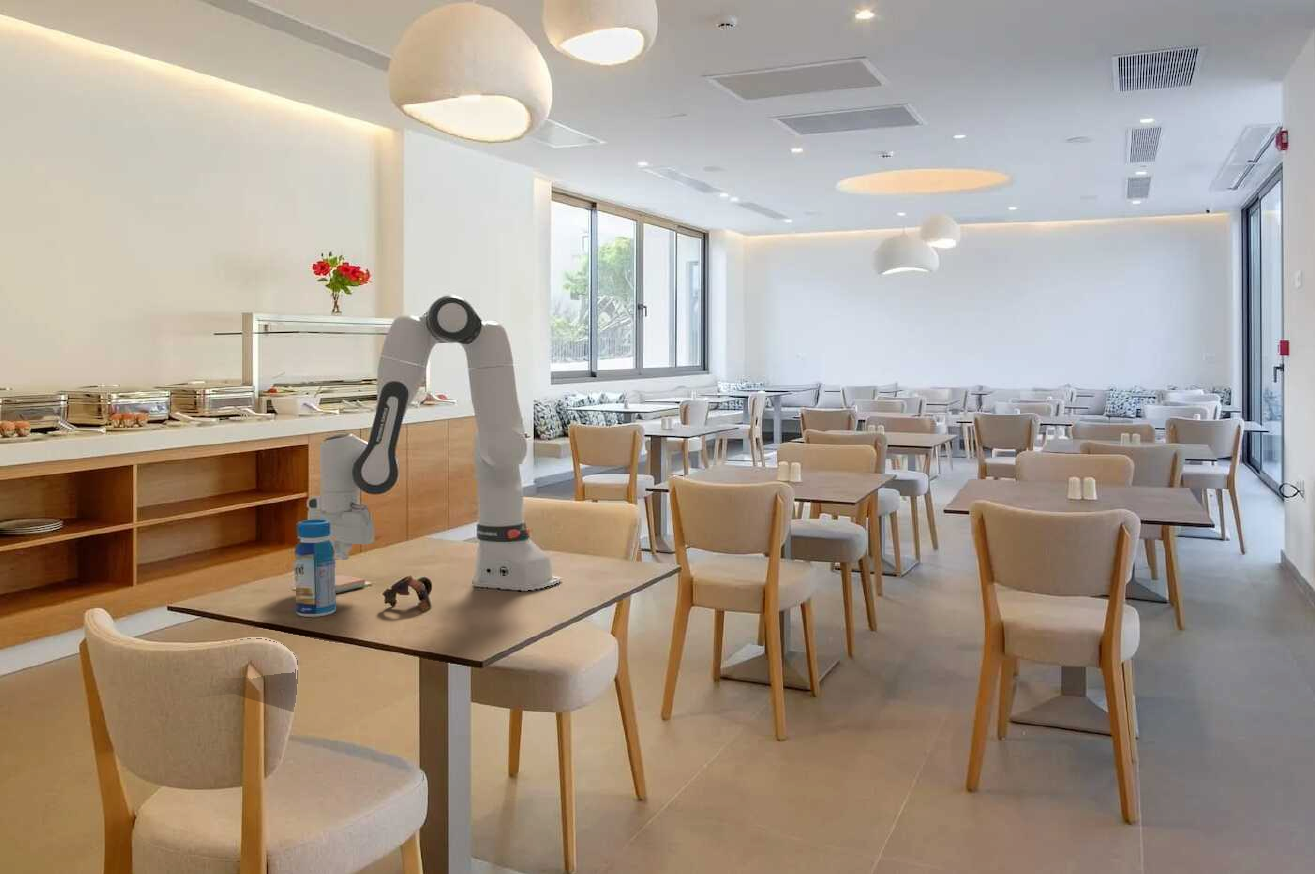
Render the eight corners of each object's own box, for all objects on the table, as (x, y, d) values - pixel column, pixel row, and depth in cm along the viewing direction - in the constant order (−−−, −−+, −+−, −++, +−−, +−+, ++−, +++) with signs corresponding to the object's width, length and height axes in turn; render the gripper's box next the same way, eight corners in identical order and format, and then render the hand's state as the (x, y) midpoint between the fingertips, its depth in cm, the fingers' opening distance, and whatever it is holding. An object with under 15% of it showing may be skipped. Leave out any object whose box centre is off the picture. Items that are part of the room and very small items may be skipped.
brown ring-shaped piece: (418, 618, 212) (397, 585, 211) (390, 631, 216) (370, 600, 215) (450, 592, 222) (430, 561, 221) (422, 605, 227) (403, 575, 226)
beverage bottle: (336, 616, 211) (333, 523, 210) (294, 619, 209) (291, 525, 207) (337, 606, 219) (334, 517, 218) (296, 609, 217) (293, 519, 215)
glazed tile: (364, 579, 238) (340, 574, 243) (337, 585, 231) (313, 580, 236) (365, 585, 238) (340, 581, 243) (337, 592, 232) (313, 587, 236)
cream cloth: (372, 584, 241) (372, 582, 241) (325, 595, 229) (324, 594, 229) (340, 578, 248) (340, 577, 248) (292, 589, 236) (292, 587, 236)
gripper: (380, 503, 232) (381, 561, 233) (324, 497, 243) (325, 552, 244) (358, 507, 227) (360, 566, 228) (302, 500, 238) (303, 556, 239)
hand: (341, 559), depth 236 cm, fingers closed
